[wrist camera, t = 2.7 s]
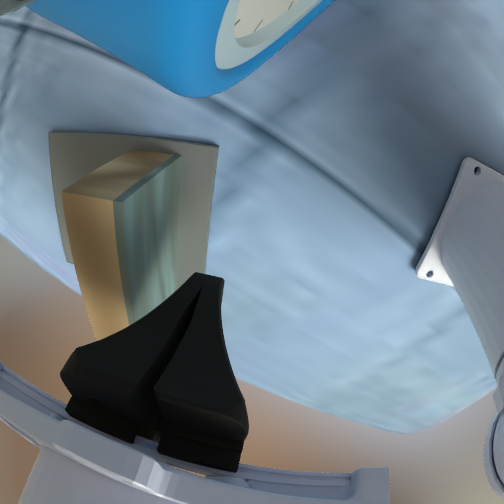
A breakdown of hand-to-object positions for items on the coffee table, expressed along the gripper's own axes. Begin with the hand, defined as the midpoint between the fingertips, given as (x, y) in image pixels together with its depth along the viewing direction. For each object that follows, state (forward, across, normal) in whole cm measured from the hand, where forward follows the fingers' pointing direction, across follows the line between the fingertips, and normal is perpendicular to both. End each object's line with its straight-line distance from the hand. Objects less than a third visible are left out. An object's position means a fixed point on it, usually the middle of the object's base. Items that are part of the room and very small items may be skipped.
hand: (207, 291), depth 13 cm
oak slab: (+4, +5, 0) cm, 6 cm away
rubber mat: (+5, +7, 0) cm, 9 cm away
